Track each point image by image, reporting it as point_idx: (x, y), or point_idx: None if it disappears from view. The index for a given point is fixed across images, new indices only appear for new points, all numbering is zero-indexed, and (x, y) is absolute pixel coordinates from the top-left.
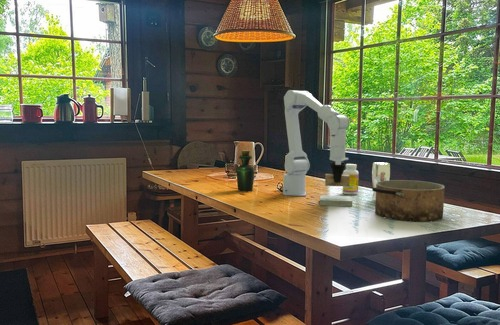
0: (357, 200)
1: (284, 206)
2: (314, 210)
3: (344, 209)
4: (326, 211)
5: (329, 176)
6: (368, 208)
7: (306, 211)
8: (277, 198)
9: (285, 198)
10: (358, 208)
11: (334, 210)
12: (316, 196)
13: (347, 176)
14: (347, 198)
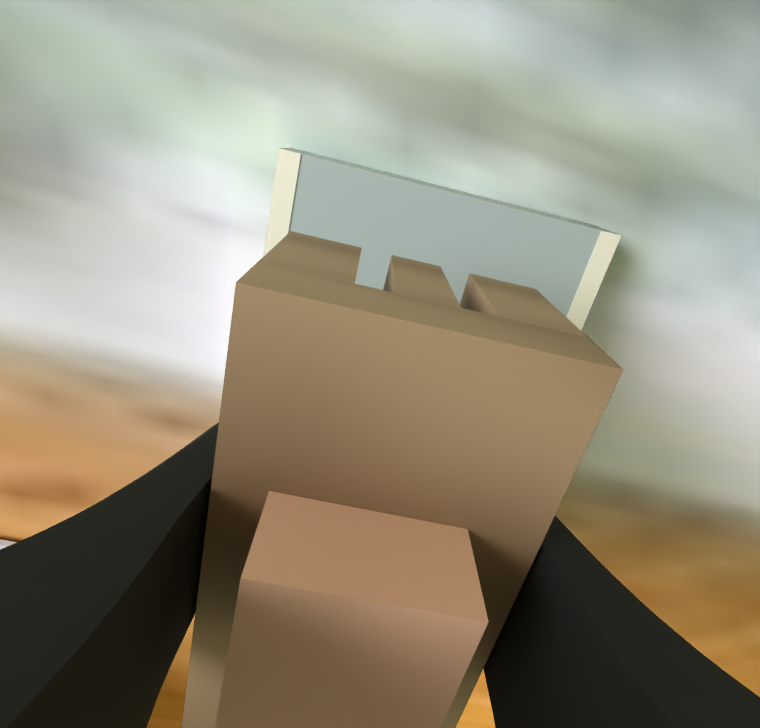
0: (197, 10)
1: (493, 721)
2: (680, 586)
3: (718, 354)
4: (747, 518)
5: (452, 708)
6: (755, 50)
7: (698, 637)
8: (181, 723)
9: (173, 682)
10: (716, 187)
11: (731, 451)
12: (10, 449)
13: (596, 414)
14: (430, 245)
